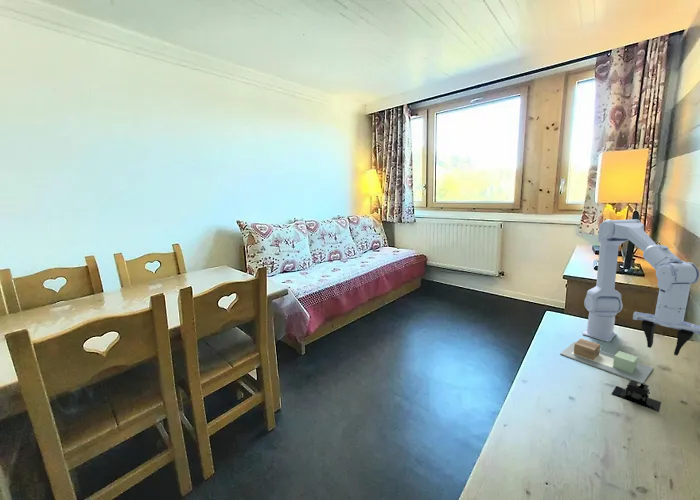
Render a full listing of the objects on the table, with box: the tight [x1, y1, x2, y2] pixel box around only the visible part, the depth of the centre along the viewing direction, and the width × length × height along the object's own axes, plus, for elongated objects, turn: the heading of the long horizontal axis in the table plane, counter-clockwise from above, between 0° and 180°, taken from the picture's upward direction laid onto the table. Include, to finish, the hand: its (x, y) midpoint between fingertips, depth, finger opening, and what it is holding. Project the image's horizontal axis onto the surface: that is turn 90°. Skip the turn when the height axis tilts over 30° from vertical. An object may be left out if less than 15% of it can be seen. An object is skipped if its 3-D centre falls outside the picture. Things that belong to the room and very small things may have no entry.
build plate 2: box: [611, 380, 662, 413], centre depth 85 cm, size 12×7×5 cm, turn 40°
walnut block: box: [574, 338, 601, 360], centre depth 106 cm, size 6×6×4 cm
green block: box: [613, 350, 639, 373], centre depth 98 cm, size 5×5×4 cm
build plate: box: [559, 341, 654, 384], centre depth 102 cm, size 12×21×1 cm, turn 37°
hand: (662, 350), depth 90 cm, fingers open, 5 cm apart
